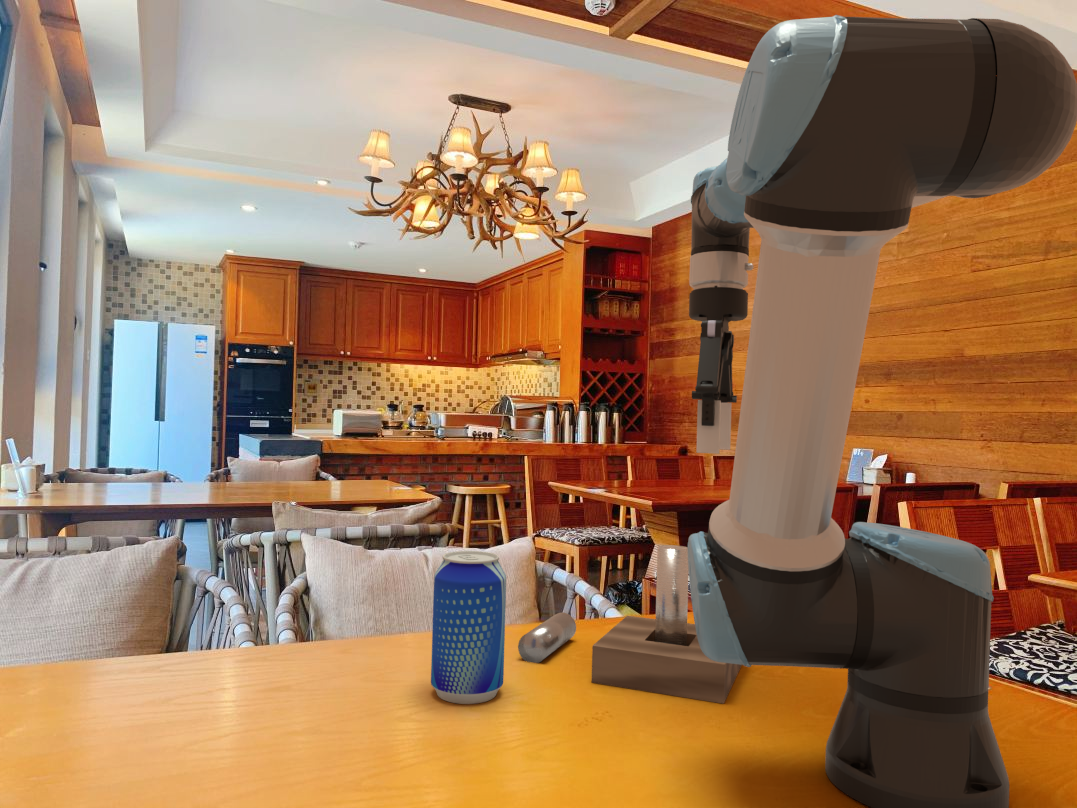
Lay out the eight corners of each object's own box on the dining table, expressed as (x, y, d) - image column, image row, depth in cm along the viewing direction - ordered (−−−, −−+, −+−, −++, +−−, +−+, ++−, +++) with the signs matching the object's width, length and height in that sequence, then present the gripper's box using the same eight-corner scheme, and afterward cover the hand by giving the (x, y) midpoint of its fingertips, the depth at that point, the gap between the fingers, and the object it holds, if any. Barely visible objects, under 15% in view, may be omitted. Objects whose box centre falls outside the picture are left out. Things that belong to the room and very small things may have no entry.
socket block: (723, 703, 92) (724, 664, 92) (591, 682, 98) (592, 645, 98) (742, 663, 107) (743, 630, 107) (626, 647, 113) (627, 615, 113)
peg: (682, 679, 100) (685, 551, 100) (651, 675, 102) (654, 548, 102) (688, 670, 104) (691, 546, 104) (658, 666, 105) (661, 544, 105)
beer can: (507, 683, 97) (511, 551, 97) (497, 709, 89) (501, 564, 89) (439, 678, 98) (443, 548, 98) (422, 704, 90) (427, 560, 90)
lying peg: (533, 627, 105) (512, 644, 106) (552, 652, 104) (530, 669, 105) (564, 606, 117) (545, 623, 118) (581, 629, 116) (562, 645, 117)
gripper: (739, 271, 92) (734, 456, 92) (754, 302, 116) (750, 449, 116) (674, 273, 95) (669, 453, 94) (702, 303, 118) (698, 447, 118)
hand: (714, 451), depth 105 cm, fingers open, 13 cm apart
